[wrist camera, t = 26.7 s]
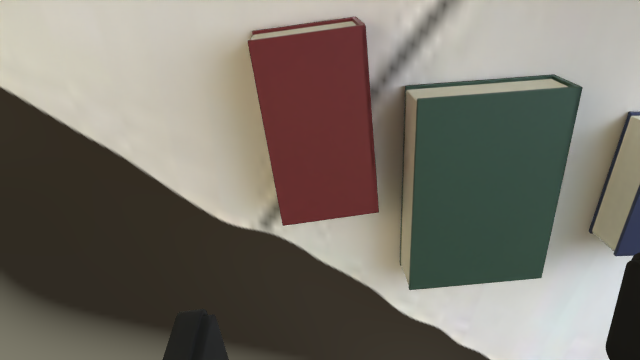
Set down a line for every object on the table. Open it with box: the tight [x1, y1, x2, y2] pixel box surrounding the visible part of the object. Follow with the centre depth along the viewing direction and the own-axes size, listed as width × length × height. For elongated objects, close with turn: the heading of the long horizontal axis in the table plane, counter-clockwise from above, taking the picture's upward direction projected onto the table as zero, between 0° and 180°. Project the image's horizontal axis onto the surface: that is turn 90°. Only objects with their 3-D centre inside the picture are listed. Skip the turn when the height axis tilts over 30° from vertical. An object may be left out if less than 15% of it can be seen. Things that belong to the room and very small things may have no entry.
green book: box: [400, 75, 582, 290], centre depth 34 cm, size 11×16×4 cm
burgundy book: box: [248, 17, 379, 226], centre depth 31 cm, size 7×13×4 cm, turn 7°
